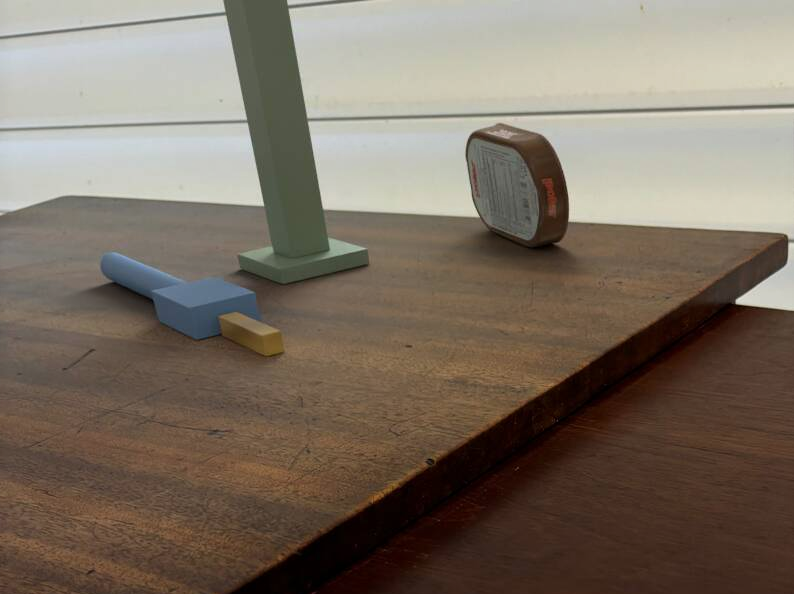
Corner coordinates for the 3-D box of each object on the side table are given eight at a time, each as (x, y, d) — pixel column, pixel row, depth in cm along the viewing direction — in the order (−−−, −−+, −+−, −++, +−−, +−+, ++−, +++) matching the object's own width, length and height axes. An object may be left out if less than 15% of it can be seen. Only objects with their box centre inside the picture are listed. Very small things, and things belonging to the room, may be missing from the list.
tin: (575, 251, 95) (568, 136, 90) (540, 257, 94) (532, 141, 89) (498, 221, 106) (489, 117, 102) (467, 226, 105) (456, 122, 100)
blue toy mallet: (87, 286, 97) (79, 258, 95) (145, 273, 99) (138, 246, 98) (196, 340, 82) (188, 307, 80) (261, 323, 84) (255, 292, 83)
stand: (222, 262, 100) (118, -201, 82) (305, 244, 104) (223, -203, 86) (302, 292, 90) (204, -228, 72) (391, 270, 94) (319, -229, 76)
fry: (222, 336, 82) (217, 315, 81) (240, 331, 83) (236, 311, 82) (266, 357, 77) (261, 335, 77) (285, 351, 78) (280, 330, 77)
